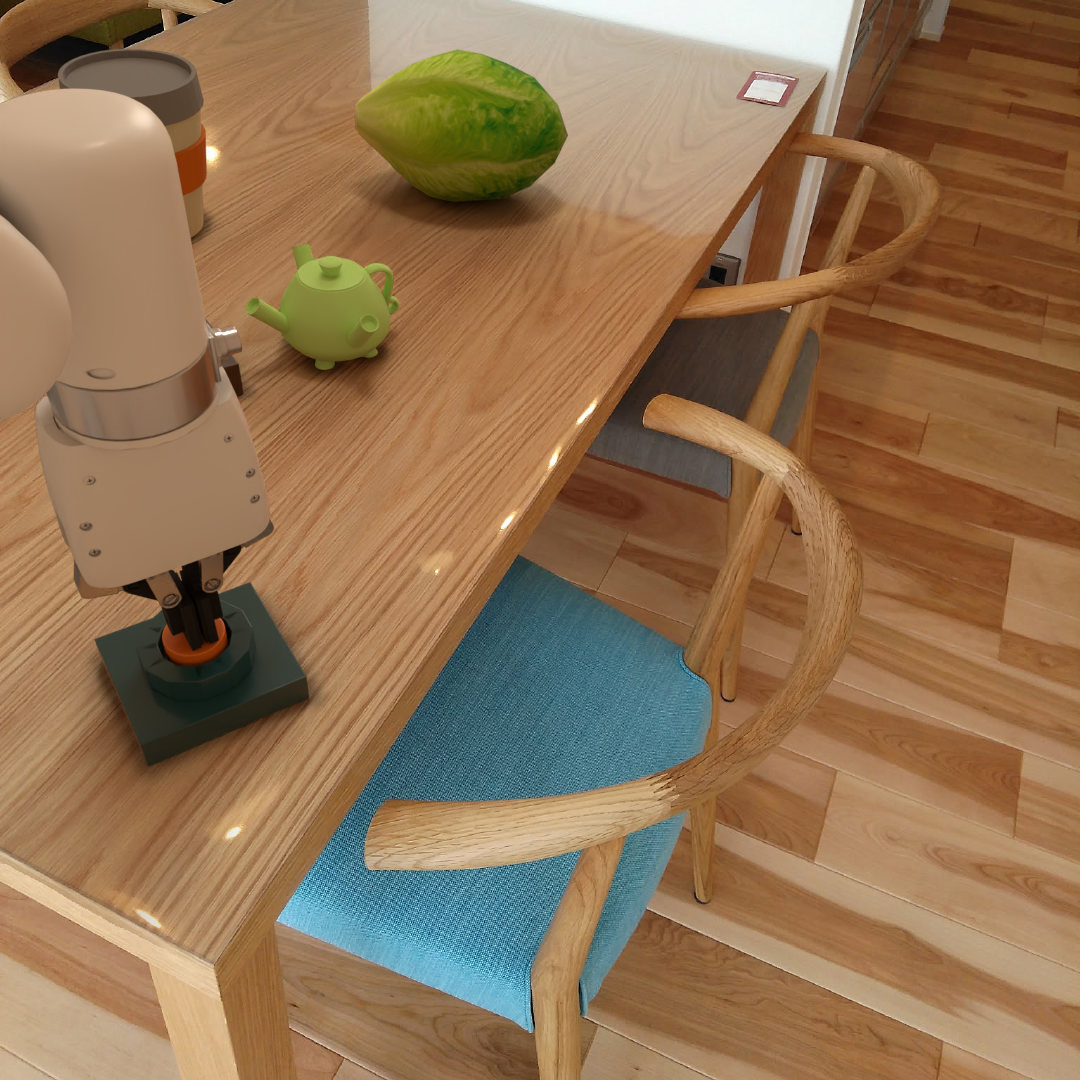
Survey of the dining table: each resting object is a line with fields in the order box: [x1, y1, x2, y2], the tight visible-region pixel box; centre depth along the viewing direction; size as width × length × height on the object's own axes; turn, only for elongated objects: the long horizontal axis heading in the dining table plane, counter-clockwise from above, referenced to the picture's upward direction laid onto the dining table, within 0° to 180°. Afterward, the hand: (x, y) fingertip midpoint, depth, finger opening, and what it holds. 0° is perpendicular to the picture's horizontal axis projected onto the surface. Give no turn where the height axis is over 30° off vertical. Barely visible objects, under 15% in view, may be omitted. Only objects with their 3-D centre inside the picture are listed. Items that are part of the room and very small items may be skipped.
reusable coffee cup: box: [57, 48, 208, 239], centre depth 99 cm, size 13×13×15 cm
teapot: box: [245, 243, 400, 371], centre depth 88 cm, size 11×12×8 cm
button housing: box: [94, 581, 310, 768], centre depth 62 cm, size 10×9×4 cm
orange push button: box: [162, 618, 229, 666], centre depth 61 cm, size 4×4×2 cm
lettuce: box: [353, 49, 569, 203], centre depth 109 cm, size 15×23×16 cm
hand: (197, 629), depth 61 cm, fingers closed
